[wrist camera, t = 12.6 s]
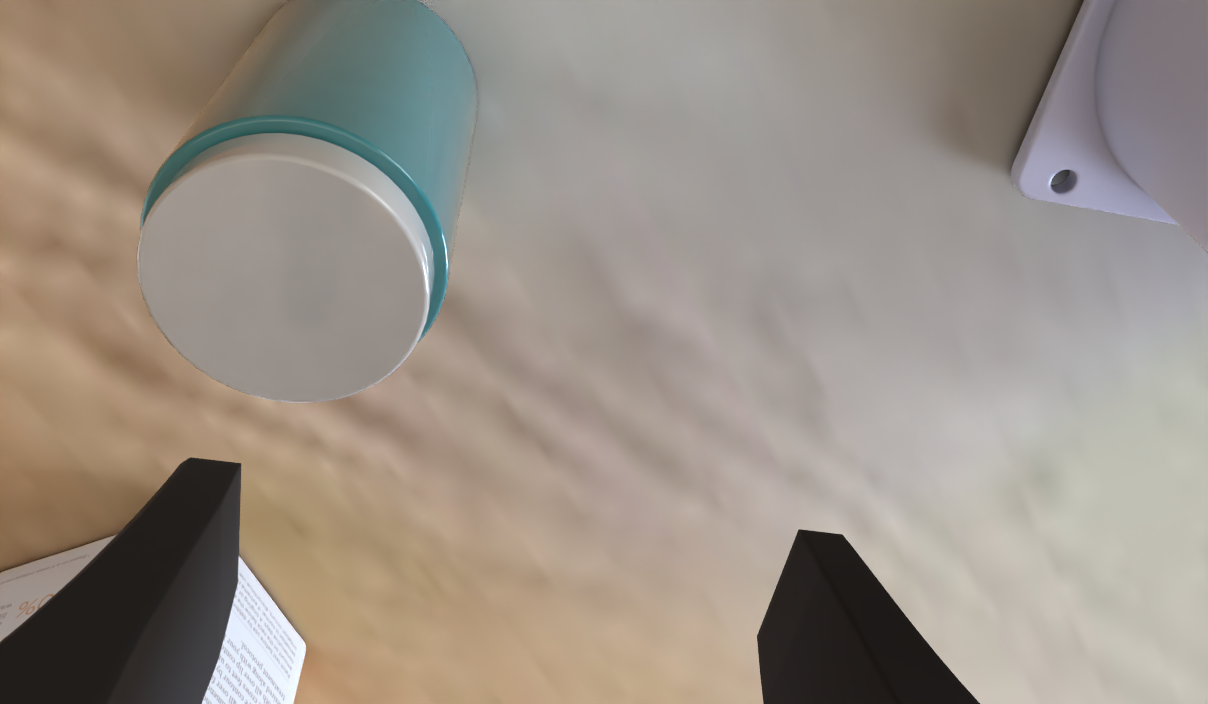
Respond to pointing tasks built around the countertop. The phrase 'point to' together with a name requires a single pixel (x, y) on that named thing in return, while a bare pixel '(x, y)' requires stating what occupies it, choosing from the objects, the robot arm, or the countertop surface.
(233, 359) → the salt shaker
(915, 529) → the countertop surface
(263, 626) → the small box
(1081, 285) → the countertop surface
